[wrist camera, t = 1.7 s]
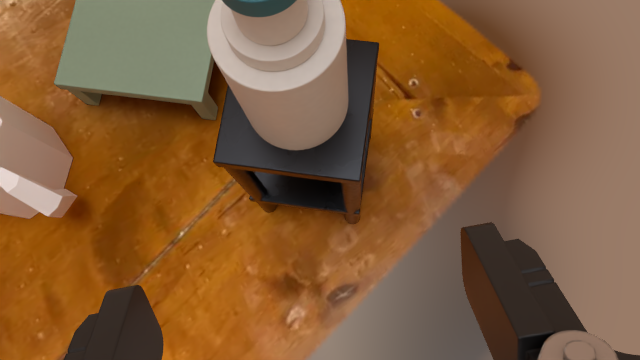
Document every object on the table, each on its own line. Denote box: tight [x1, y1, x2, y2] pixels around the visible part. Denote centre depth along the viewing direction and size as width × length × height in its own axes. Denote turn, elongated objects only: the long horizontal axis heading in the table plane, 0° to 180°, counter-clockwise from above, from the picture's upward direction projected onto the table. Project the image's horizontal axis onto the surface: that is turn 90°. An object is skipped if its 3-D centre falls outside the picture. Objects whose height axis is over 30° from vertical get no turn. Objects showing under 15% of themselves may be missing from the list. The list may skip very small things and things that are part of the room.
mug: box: [0, 96, 77, 219], centre depth 43 cm, size 12×9×10 cm
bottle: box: [207, 0, 348, 150], centre depth 24 cm, size 6×6×13 cm
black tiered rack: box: [213, 39, 379, 224], centre depth 39 cm, size 8×8×16 cm
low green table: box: [54, 0, 218, 120], centre depth 47 cm, size 12×12×5 cm
